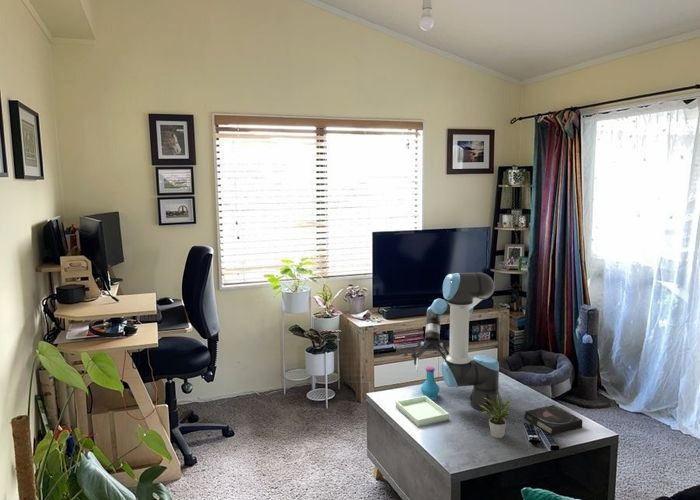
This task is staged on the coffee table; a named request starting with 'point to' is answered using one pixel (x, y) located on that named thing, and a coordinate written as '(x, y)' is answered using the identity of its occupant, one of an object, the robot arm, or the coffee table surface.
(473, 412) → the coffee table surface
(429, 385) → the perfume bottle
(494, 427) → the house plant
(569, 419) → the dark brown book
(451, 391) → the coffee table surface
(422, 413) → the parts tray
